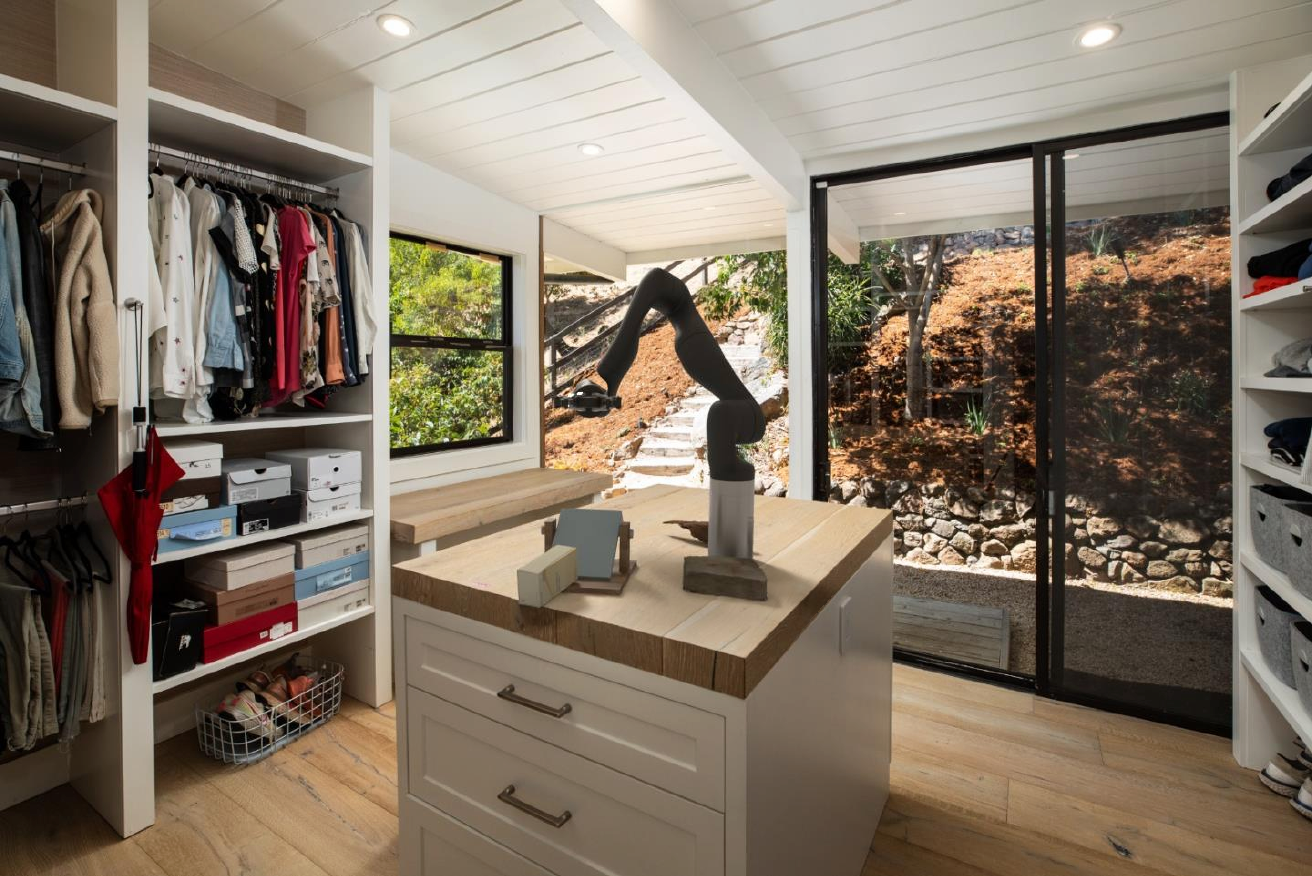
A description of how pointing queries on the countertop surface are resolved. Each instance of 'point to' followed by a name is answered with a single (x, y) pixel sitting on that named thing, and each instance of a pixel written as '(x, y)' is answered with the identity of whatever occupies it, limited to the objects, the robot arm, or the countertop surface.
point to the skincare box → (547, 575)
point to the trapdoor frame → (620, 568)
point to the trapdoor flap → (590, 539)
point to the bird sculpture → (694, 528)
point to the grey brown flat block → (725, 577)
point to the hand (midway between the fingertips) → (586, 403)
